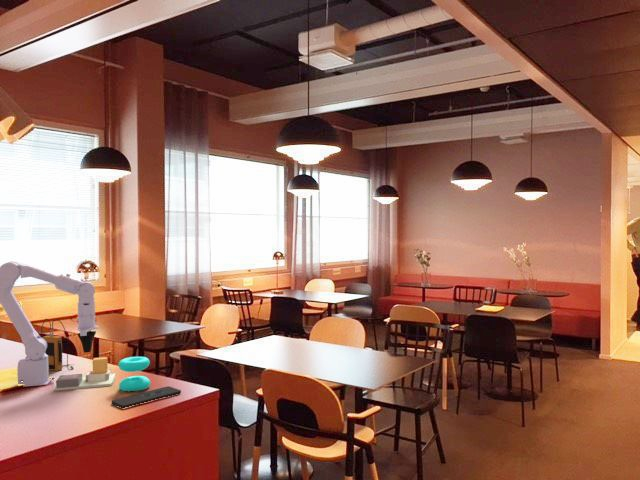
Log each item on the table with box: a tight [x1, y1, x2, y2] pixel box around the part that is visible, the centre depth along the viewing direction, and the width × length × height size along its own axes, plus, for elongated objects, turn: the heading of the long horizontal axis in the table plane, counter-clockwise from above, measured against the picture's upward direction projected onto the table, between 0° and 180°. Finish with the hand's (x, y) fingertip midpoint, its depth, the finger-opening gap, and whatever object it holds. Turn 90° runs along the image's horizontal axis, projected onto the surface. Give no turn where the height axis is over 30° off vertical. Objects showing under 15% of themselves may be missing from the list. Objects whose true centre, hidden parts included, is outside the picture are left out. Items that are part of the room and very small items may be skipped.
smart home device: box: [110, 386, 182, 409], centre depth 171 cm, size 8×2×20 cm
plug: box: [92, 356, 109, 374], centre depth 194 cm, size 5×3×7 cm, turn 105°
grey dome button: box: [55, 373, 83, 388], centre depth 187 cm, size 7×7×3 cm
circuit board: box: [54, 372, 117, 392], centre depth 191 cm, size 18×14×1 cm
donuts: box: [118, 356, 151, 393], centre depth 183 cm, size 10×10×10 cm
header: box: [85, 368, 112, 382], centre depth 194 cm, size 8×6×2 cm
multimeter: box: [40, 318, 75, 372], centre depth 214 cm, size 15×10×20 cm
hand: (87, 352), depth 198 cm, fingers closed
